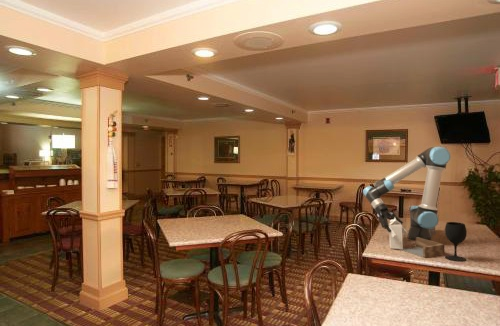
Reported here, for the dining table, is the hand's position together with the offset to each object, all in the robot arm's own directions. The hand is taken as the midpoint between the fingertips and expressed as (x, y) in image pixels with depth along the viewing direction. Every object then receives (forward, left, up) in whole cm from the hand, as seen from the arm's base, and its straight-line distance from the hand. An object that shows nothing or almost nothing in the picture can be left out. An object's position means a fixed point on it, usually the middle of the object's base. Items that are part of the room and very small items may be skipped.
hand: (400, 235), depth 204 cm
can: (-54, -24, -9) cm, 60 cm away
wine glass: (-13, +27, -9) cm, 31 cm away
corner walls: (-7, +9, -9) cm, 14 cm away
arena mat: (-6, +9, -9) cm, 14 cm away
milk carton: (0, -3, -9) cm, 9 cm away
